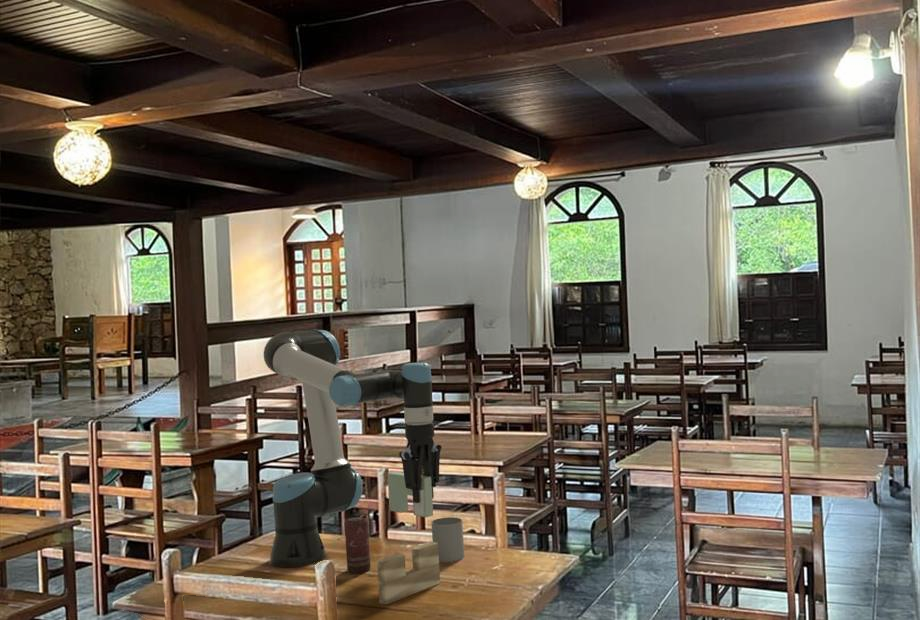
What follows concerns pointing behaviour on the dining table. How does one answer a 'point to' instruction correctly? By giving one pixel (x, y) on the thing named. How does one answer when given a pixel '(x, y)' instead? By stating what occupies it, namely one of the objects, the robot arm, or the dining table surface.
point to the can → (357, 544)
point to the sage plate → (400, 492)
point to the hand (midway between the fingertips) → (424, 513)
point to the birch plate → (408, 573)
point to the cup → (448, 538)
